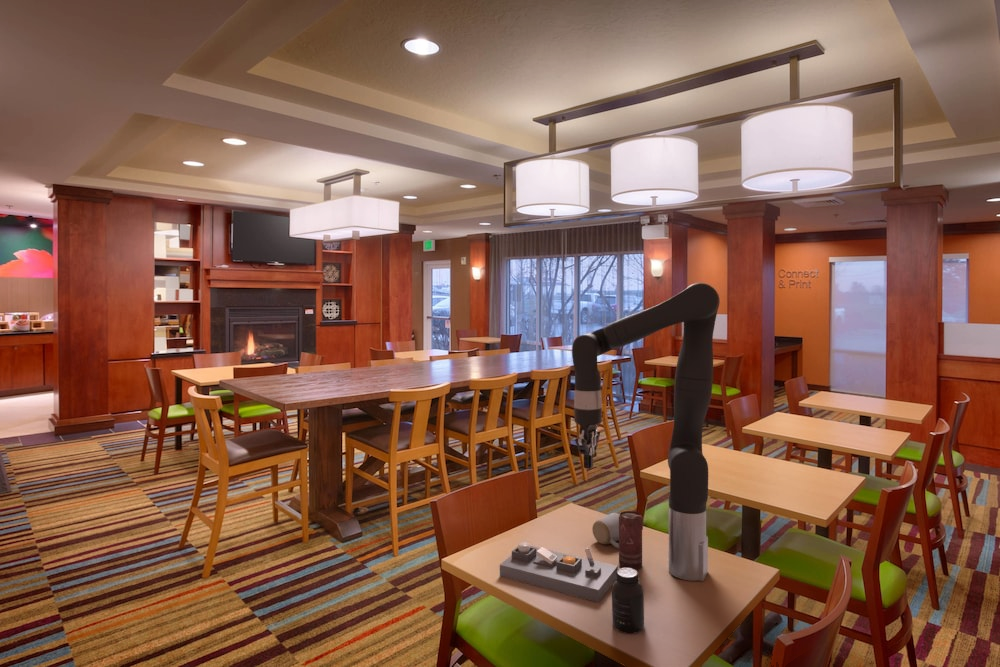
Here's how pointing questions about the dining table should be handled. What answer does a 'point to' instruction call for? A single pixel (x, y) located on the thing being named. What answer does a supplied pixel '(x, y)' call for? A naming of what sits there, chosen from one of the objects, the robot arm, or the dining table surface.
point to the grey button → (524, 547)
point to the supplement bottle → (627, 601)
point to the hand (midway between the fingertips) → (588, 467)
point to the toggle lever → (589, 557)
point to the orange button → (569, 560)
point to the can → (630, 539)
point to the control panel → (560, 574)
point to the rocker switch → (546, 555)
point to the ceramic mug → (607, 529)
